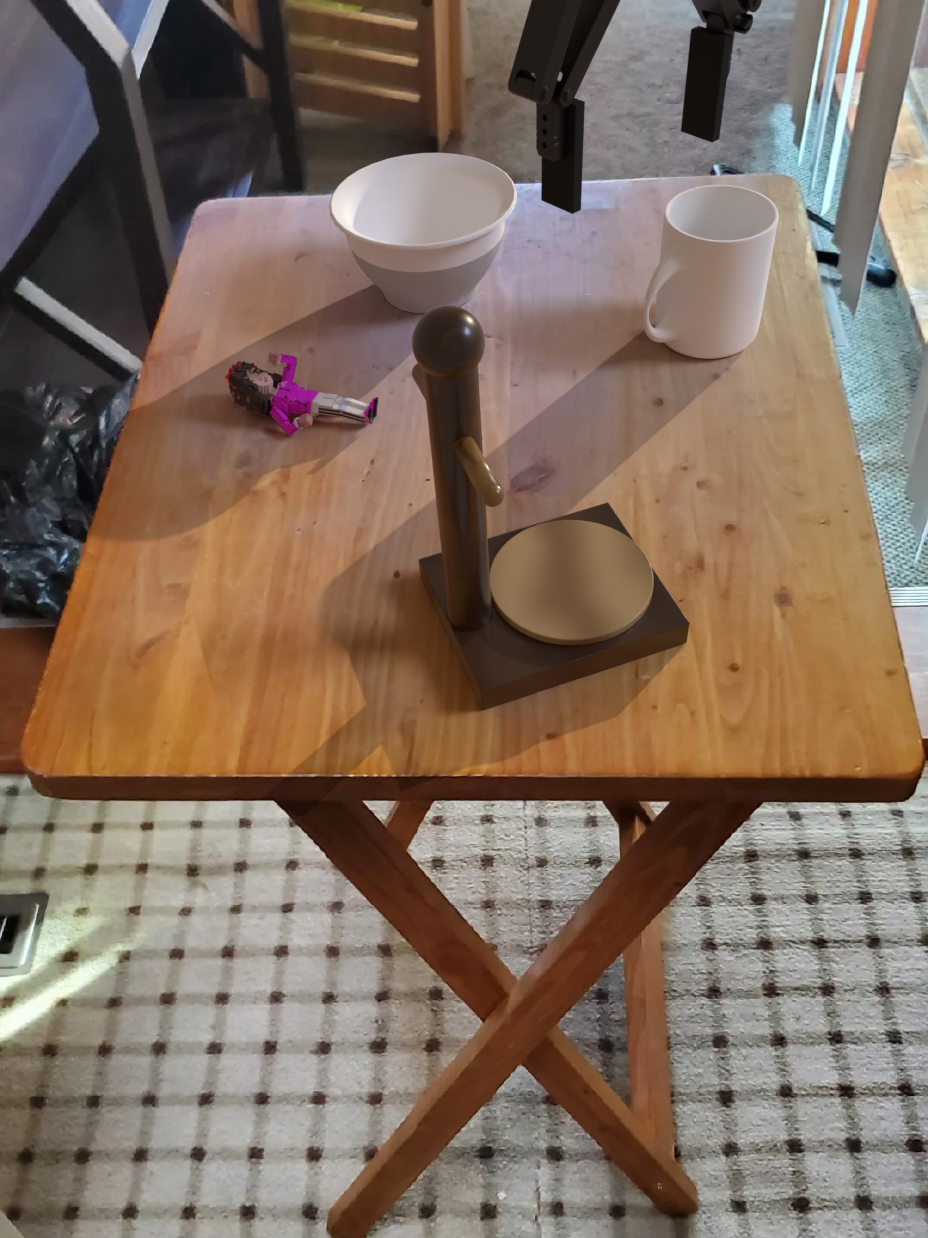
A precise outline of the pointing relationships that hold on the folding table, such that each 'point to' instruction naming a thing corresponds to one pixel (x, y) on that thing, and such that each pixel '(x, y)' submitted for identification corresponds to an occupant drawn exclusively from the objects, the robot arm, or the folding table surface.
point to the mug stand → (523, 552)
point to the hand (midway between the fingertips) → (633, 169)
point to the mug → (712, 270)
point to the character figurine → (290, 396)
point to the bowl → (425, 225)
